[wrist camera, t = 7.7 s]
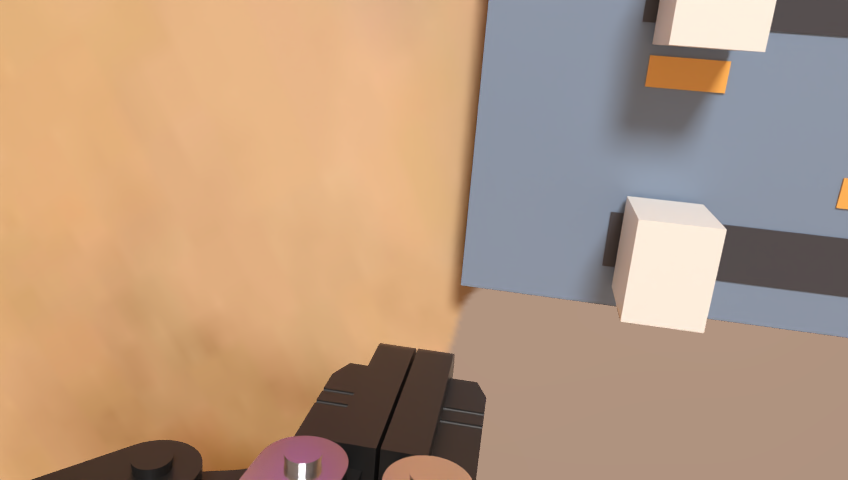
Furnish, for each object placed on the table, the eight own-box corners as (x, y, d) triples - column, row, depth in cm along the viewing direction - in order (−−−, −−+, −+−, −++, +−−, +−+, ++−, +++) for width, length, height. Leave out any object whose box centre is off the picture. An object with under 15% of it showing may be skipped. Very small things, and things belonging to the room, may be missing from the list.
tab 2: (702, 204, 27) (726, 229, 23) (684, 296, 28) (703, 333, 24) (627, 196, 27) (638, 219, 24) (611, 286, 28) (620, 321, 25)
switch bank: (1179, -64, 23) (1236, -74, 21) (1022, 344, 28) (1057, 367, 26) (502, -96, 27) (498, -107, 25) (466, 270, 32) (460, 285, 30)
